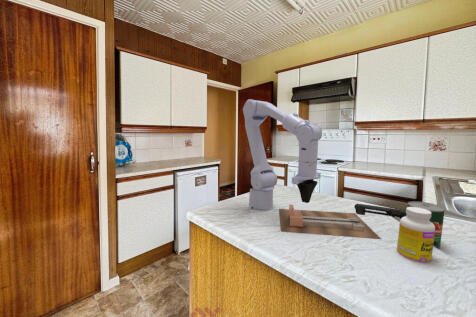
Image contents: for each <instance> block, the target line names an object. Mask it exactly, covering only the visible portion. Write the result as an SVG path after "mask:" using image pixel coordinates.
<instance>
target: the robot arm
mask: <svg viewBox="0 0 476 317" xmlns="http://www.w3.org/2000/svg"><path fill="white" fill-rule="evenodd" d="M242 113H243V117H244V127H245V131H246V135H247V139H248V144H249V149H250V153H251V158H252V162H253V165H254V167H253V168H252V169H251V171H250V184H251V186H252V188H250V189H249V194H248V195H249V197H248V198H249V199H248V200H249V202H248V207H249V209H248V213H250V212H251V210H259V211H270V210H272V209H273V207H274V206H273V205H274V200H273V199H274V189H275V186H276V185H277V184H278V176H277V174H276V173H275V171H274V167H273V166H271V165H270V164H269V163H268V160H267V159H268V157H267V155H266V151H265V147H264V142H263V137H262V133H261V129H260V125H261V124H263V122H265V120H266V119H267V117H271V118H272V119H274V120H276V121H278V122H280V123H281V125H282V127H283V129H285V130H286V131H288V132H290V133H291V134H292V135H294V136H295V137H296V139H297V141H298V147H299V148H298V166H297V167H298V168H297V174H296V175H294V176H292V177H291V184H293V185H296V186H297V188H298V190H299V193H300V199H301V202H302V203H306V204H308V203H310V202H311V198H312V195H313V192H314V190H315V188H316V187H317V185H318V180H320V179H321V172H318V171H317V170H318V169H317V168H318V151H319V141H320V140H321V138H322V136H323V130H322V128H321V127H320V125H318V124H317V123H316V124H315V123H312V124H310V120H308V119H303V118H302V117H300V115H299V114H298V113H295V112H293V113H288V114H287V113H286V112H285V111H282V110H281V109H280V108H278V107H277V106H275V105H274V104H273V103H270V102H268V101H262V100H255V99H253V98H251V99H250V98H249V99H247V100H246V102H244V105H243V108H242Z"/></svg>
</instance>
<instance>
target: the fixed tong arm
mask: <svg viewBox="0 0 476 317" xmlns="http://www.w3.org/2000/svg"><path fill="white" fill-rule="evenodd" d="M303 226H311V227H325V228H339V229H352V230H353V231H364V226H363V225H362V224H361V223H352V222H337V221H322V220H307V219H303Z"/></svg>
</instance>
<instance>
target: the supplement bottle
mask: <svg viewBox="0 0 476 317" xmlns="http://www.w3.org/2000/svg"><path fill="white" fill-rule="evenodd" d="M405 210H406V214H407V216H405V217H402V218H401V219H400V222H399V228H398V238H397V244H396V252H397V253H398V254H399V255H401V257H403V258H406V259H409V260H412V261H415V262H419V263H430V262H431V261H432V257H433V249H434V246H433V243H434V235H435V226H434V224H433V223H432V222H430V221H429V219H430V218H431V212H430V211H429V210H426V209H423V208H418V207H408V206H407V207H406V208H405Z"/></svg>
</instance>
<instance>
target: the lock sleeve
mask: <svg viewBox="0 0 476 317" xmlns="http://www.w3.org/2000/svg"><path fill="white" fill-rule="evenodd" d="M288 209H289V213H288V218H290V226H298V227H303V216H302V213H301V210H302V209H295V207H294V204H289V205H288Z"/></svg>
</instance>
